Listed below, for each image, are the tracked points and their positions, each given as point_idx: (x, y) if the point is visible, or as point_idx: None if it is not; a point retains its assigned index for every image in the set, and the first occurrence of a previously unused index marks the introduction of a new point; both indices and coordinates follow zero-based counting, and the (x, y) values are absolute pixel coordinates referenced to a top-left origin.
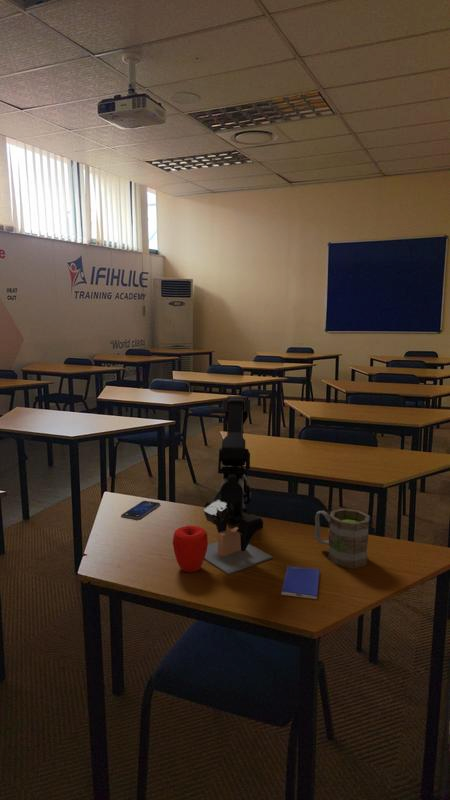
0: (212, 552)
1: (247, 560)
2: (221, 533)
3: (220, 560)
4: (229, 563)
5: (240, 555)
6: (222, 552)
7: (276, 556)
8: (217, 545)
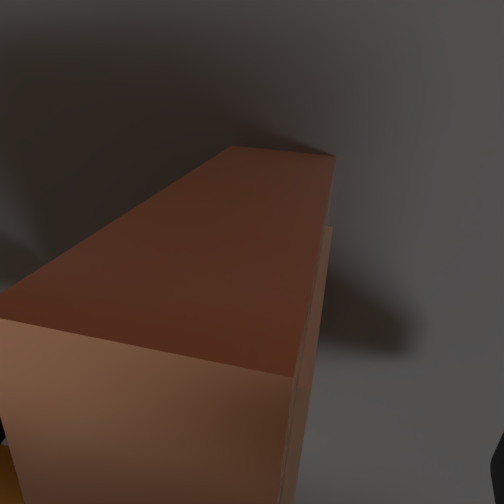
0: (433, 126)
1: (15, 278)
2: (143, 413)
3: (158, 39)
4: (38, 82)
5: None
6: (212, 158)
7: (12, 461)
8: None
